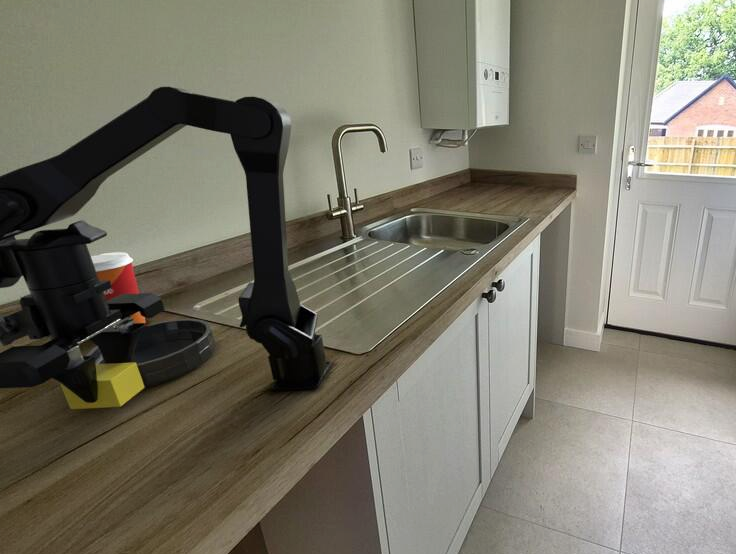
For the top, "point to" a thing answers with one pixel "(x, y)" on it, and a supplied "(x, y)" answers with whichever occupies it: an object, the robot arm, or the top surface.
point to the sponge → (110, 386)
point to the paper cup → (117, 276)
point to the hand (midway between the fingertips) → (106, 391)
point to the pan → (169, 349)
